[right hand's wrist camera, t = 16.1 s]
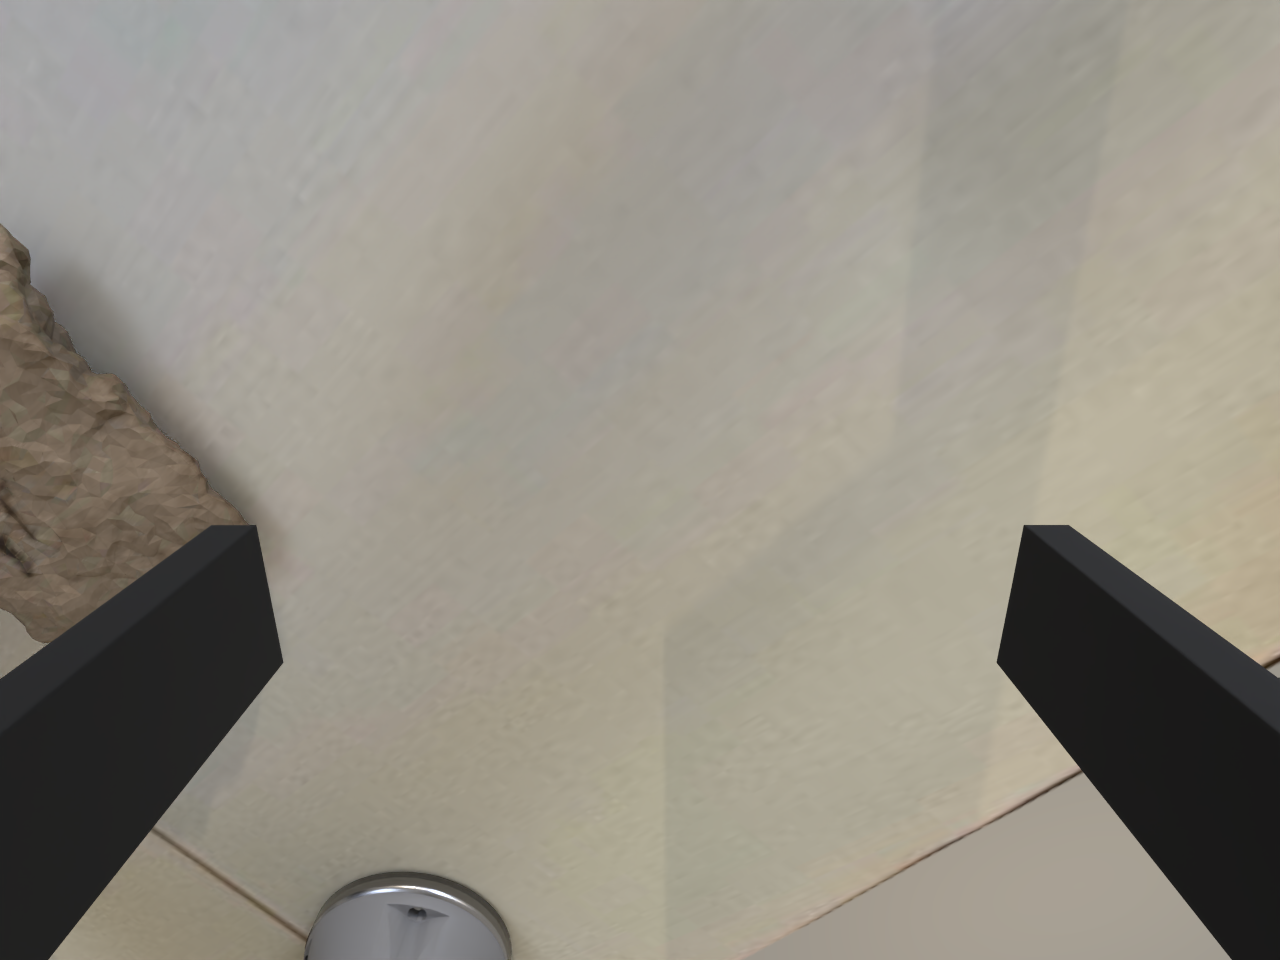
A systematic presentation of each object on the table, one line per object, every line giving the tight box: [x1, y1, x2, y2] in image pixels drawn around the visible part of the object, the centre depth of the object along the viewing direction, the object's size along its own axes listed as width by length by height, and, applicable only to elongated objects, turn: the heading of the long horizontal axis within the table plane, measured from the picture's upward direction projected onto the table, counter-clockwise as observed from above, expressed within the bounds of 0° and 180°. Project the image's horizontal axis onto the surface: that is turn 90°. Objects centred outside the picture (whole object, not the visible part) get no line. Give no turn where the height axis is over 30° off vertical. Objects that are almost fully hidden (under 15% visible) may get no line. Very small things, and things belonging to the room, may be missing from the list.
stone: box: [0, 224, 249, 643], centre depth 40 cm, size 21×15×6 cm
